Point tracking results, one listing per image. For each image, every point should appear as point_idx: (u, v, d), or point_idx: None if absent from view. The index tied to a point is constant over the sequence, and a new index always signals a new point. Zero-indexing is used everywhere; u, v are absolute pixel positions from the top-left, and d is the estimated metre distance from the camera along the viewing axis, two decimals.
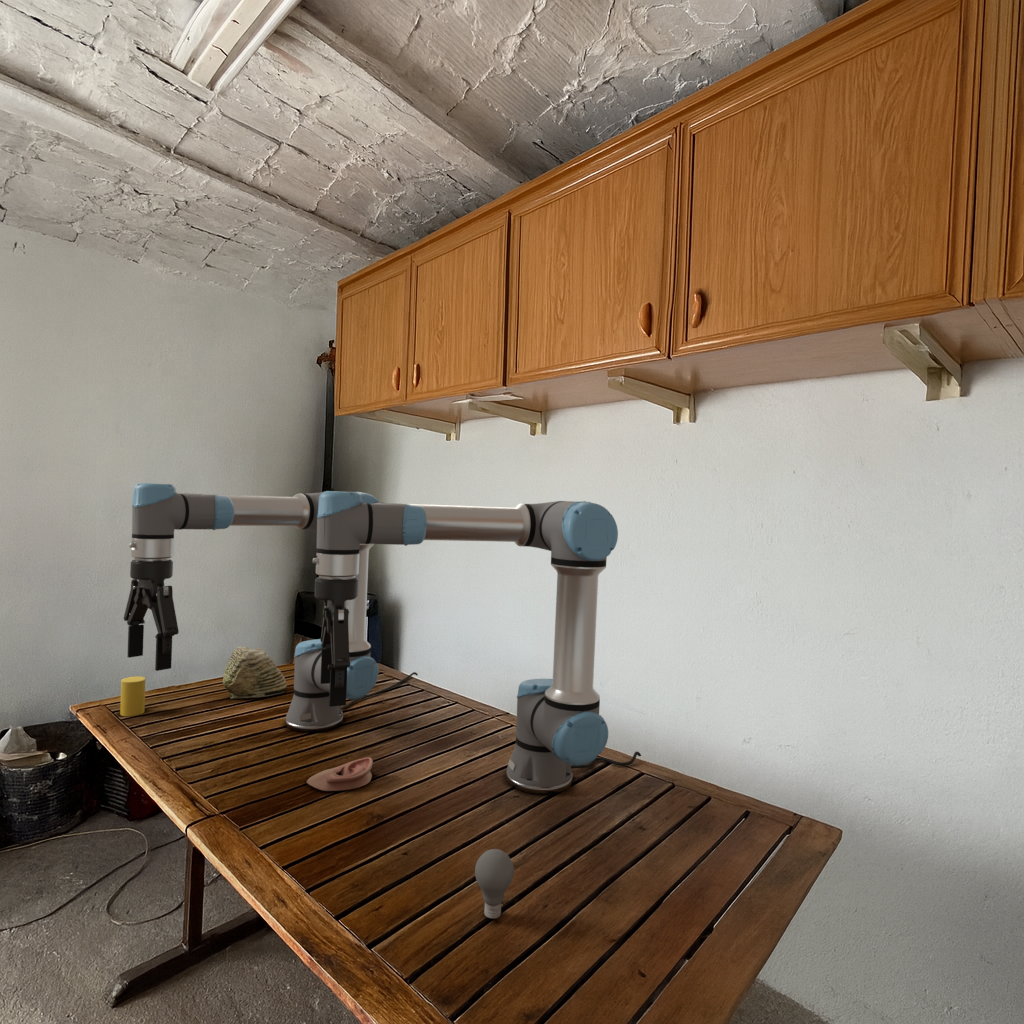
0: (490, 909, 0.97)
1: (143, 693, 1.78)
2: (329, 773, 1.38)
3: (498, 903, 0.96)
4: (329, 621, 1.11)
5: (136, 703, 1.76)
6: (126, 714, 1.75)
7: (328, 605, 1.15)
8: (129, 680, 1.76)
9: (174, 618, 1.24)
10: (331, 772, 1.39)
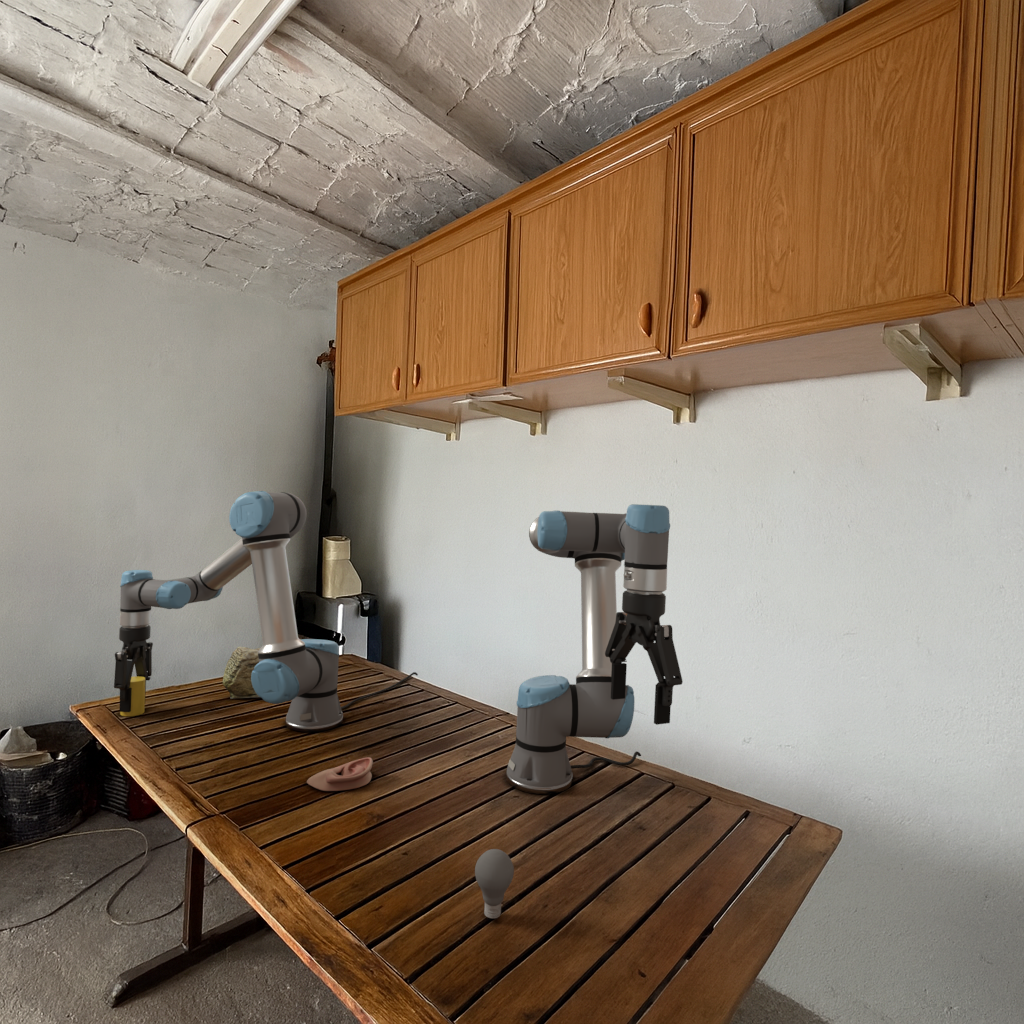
0: (490, 909, 0.97)
1: (143, 693, 1.78)
2: (329, 773, 1.38)
3: (498, 903, 0.96)
4: (645, 637, 1.09)
5: (136, 703, 1.76)
6: (126, 714, 1.75)
7: (632, 620, 1.13)
8: None
9: (122, 677, 1.71)
10: (331, 772, 1.39)
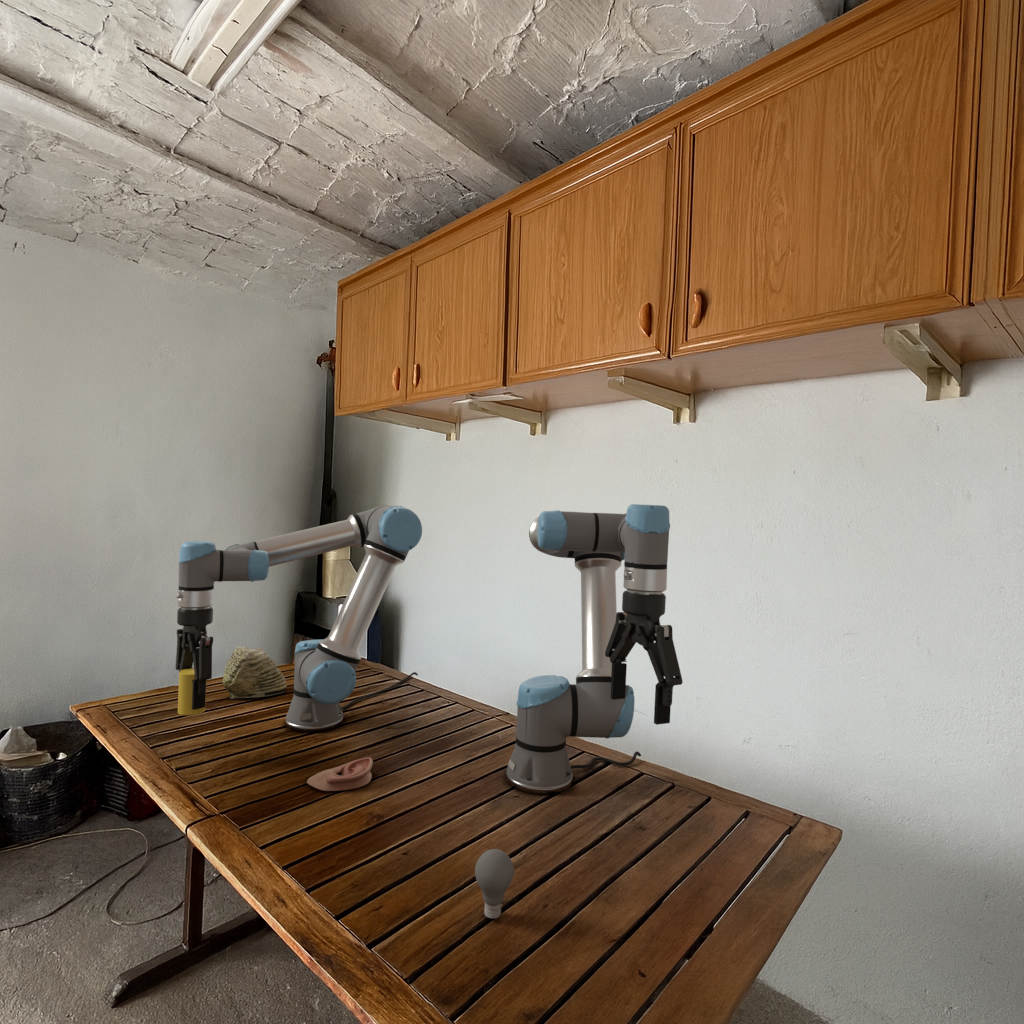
0: (490, 909, 0.97)
1: None
2: (329, 773, 1.38)
3: (498, 903, 0.96)
4: (645, 637, 1.09)
5: None
6: (198, 711, 1.48)
7: (632, 620, 1.13)
8: None
9: (210, 666, 1.46)
10: (331, 772, 1.39)
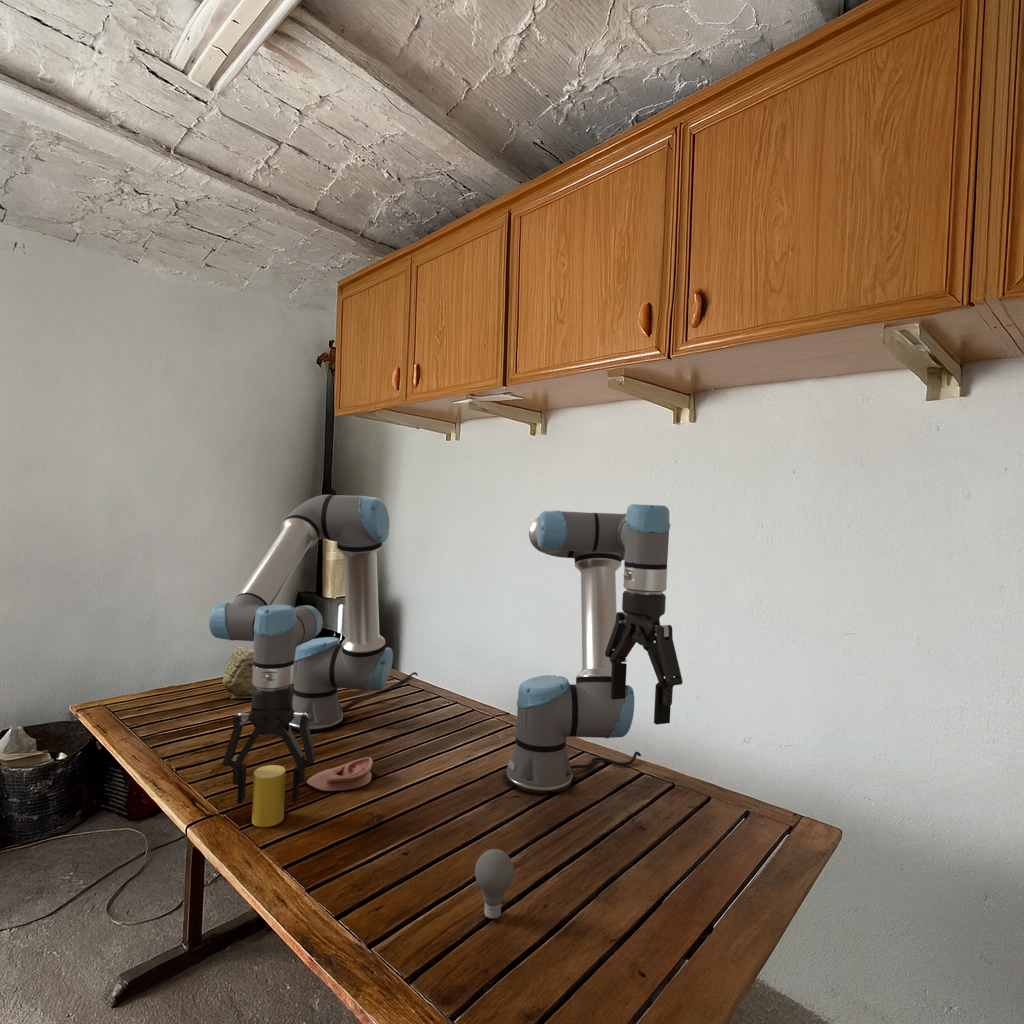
0: (490, 909, 0.97)
1: None
2: (329, 773, 1.38)
3: (498, 903, 0.96)
4: (645, 637, 1.09)
5: None
6: (283, 815, 1.24)
7: (632, 620, 1.13)
8: (276, 771, 1.23)
9: (312, 744, 1.25)
10: (331, 772, 1.39)
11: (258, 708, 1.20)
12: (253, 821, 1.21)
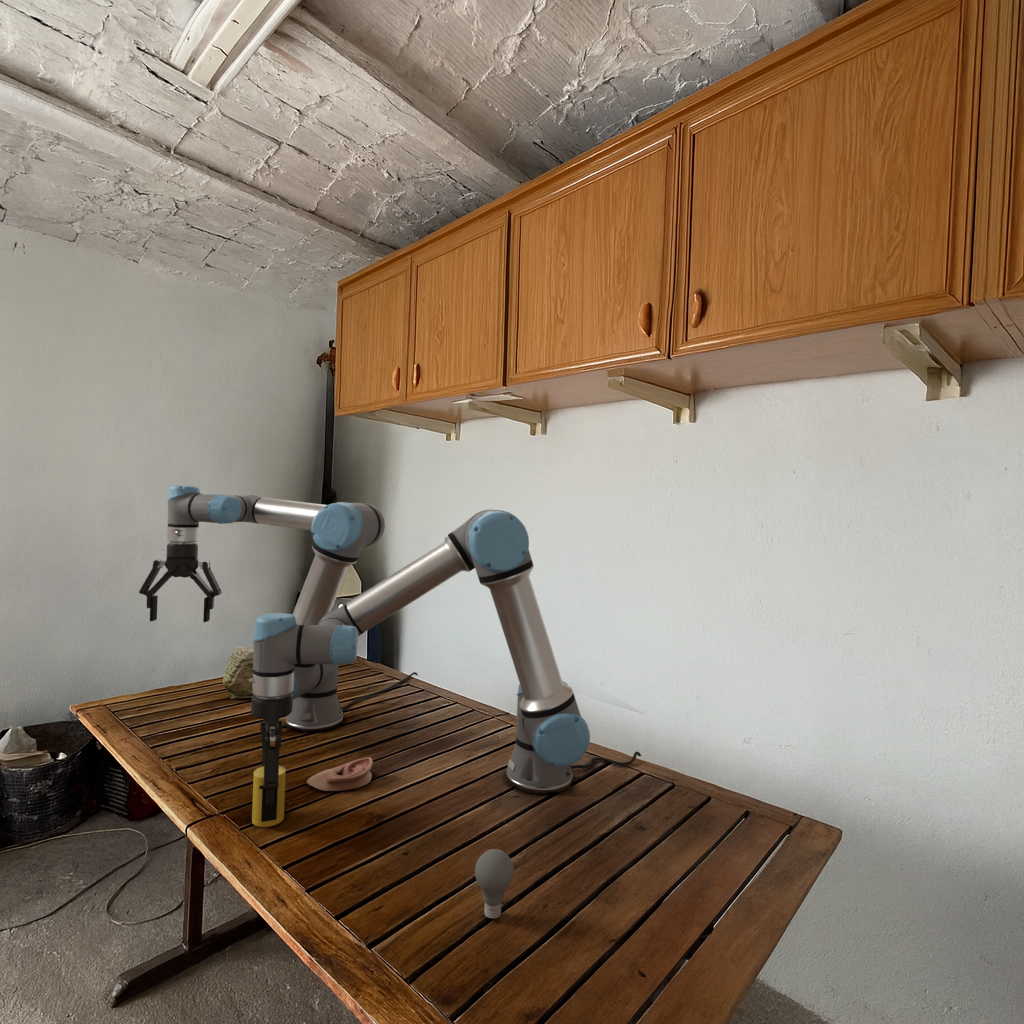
0: (490, 909, 0.97)
1: None
2: (329, 773, 1.38)
3: (498, 903, 0.96)
4: (263, 740, 1.21)
5: None
6: (283, 815, 1.24)
7: (265, 719, 1.24)
8: None
9: (217, 583, 1.74)
10: (331, 772, 1.39)
11: (170, 556, 1.68)
12: (253, 821, 1.22)
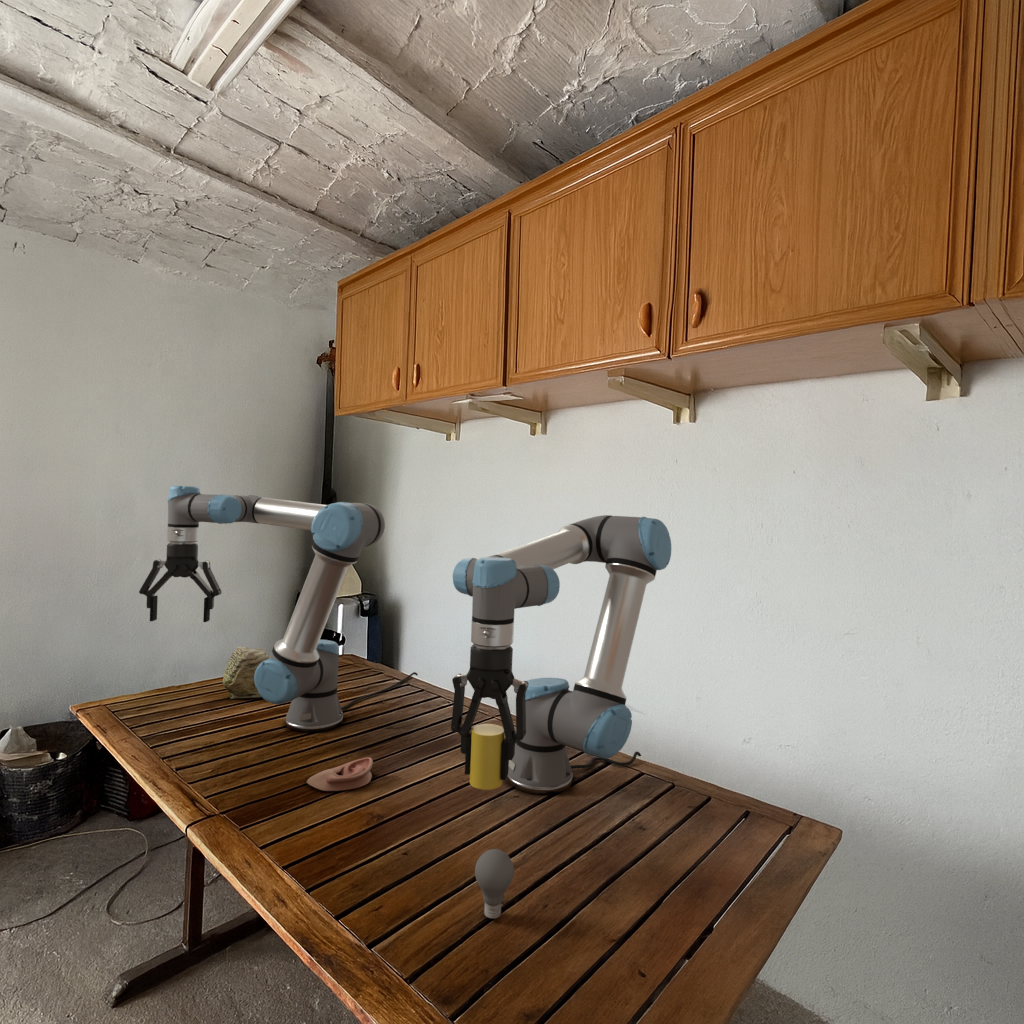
0: (490, 909, 0.97)
1: None
2: (329, 773, 1.38)
3: (498, 903, 0.96)
4: (501, 693, 1.11)
5: None
6: None
7: (480, 676, 1.12)
8: (493, 727, 1.14)
9: (217, 583, 1.74)
10: (331, 772, 1.39)
11: (170, 556, 1.68)
12: (488, 786, 1.10)
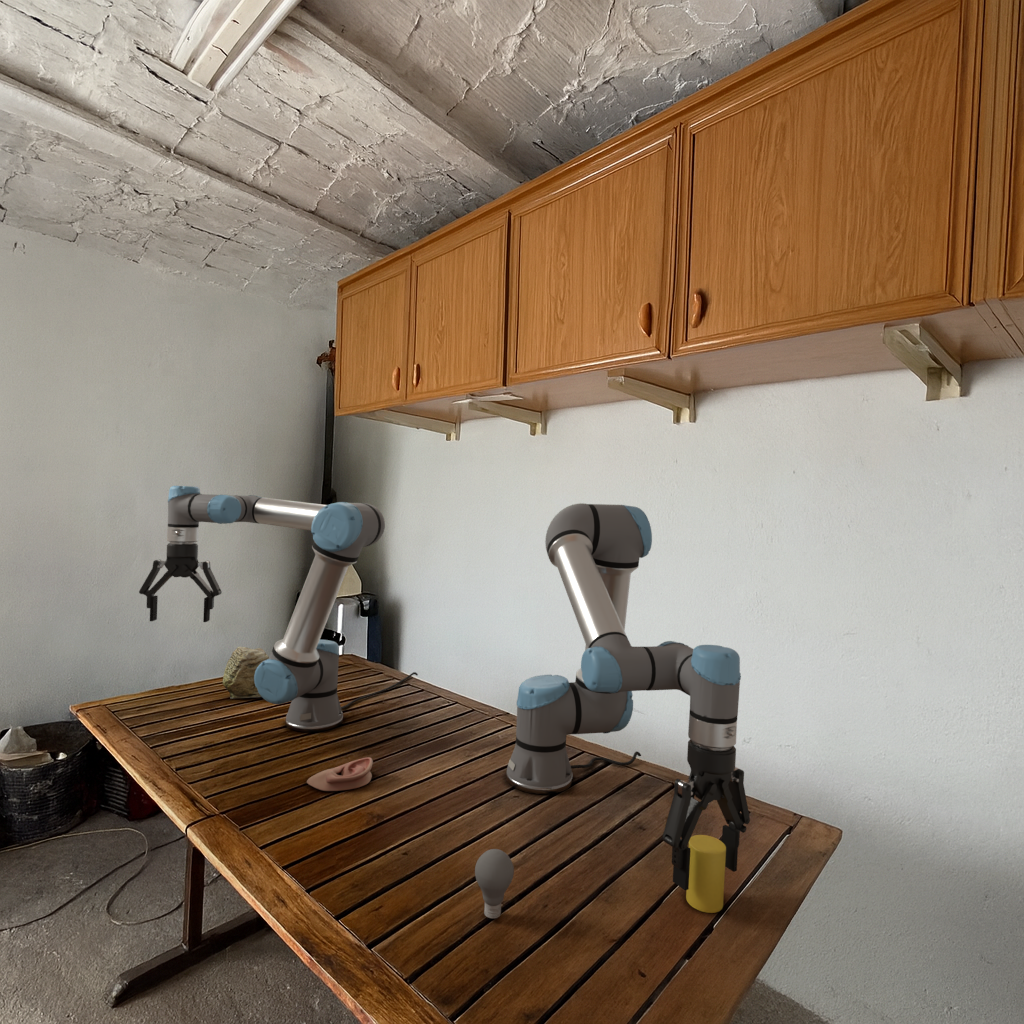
0: (490, 909, 0.97)
1: (691, 870, 1.03)
2: (329, 773, 1.38)
3: (498, 903, 0.96)
4: None
5: None
6: None
7: (708, 780, 1.02)
8: (704, 839, 1.05)
9: (217, 583, 1.74)
10: (331, 772, 1.39)
11: (170, 556, 1.68)
12: (722, 904, 1.02)
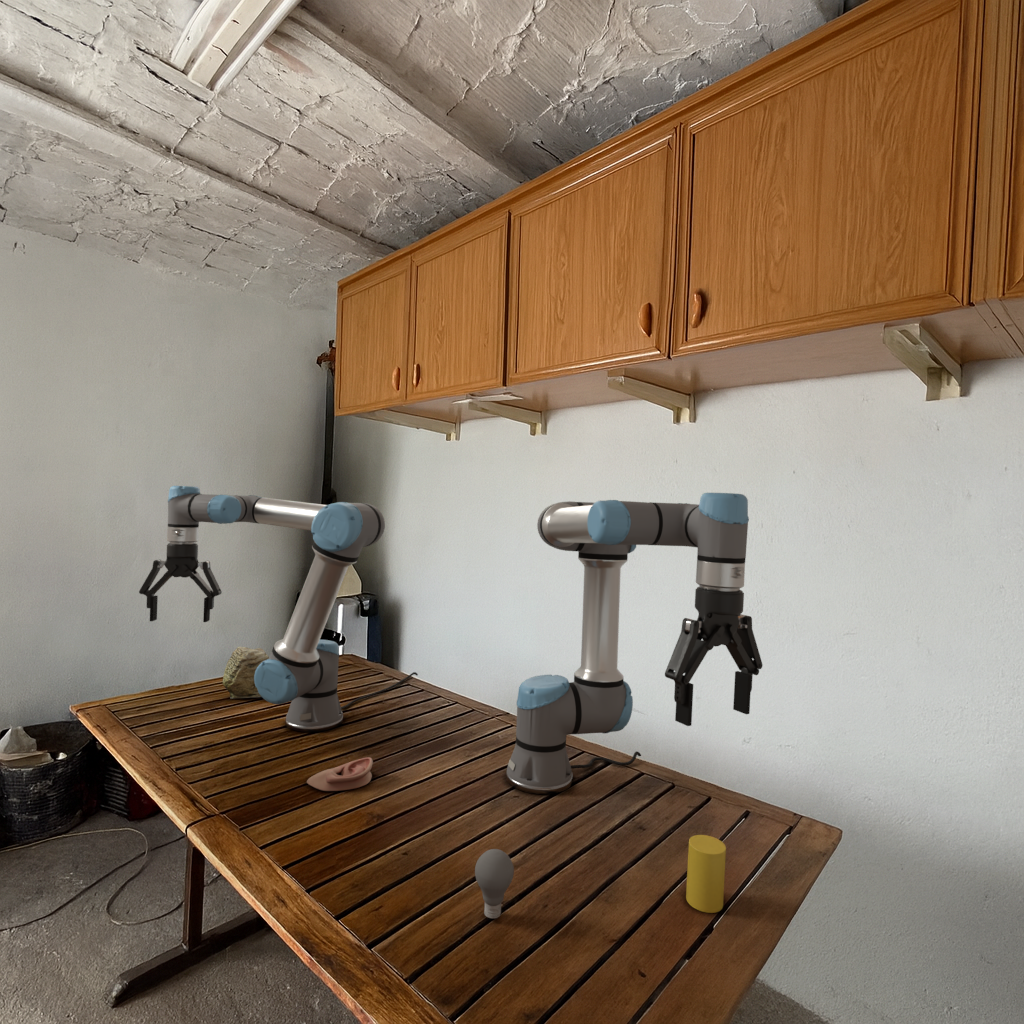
0: (490, 909, 0.97)
1: (691, 870, 1.03)
2: (329, 773, 1.38)
3: (498, 903, 0.96)
4: None
5: None
6: None
7: (716, 622, 1.01)
8: (704, 839, 1.05)
9: (217, 583, 1.74)
10: (331, 772, 1.39)
11: (170, 556, 1.68)
12: (722, 904, 1.02)
